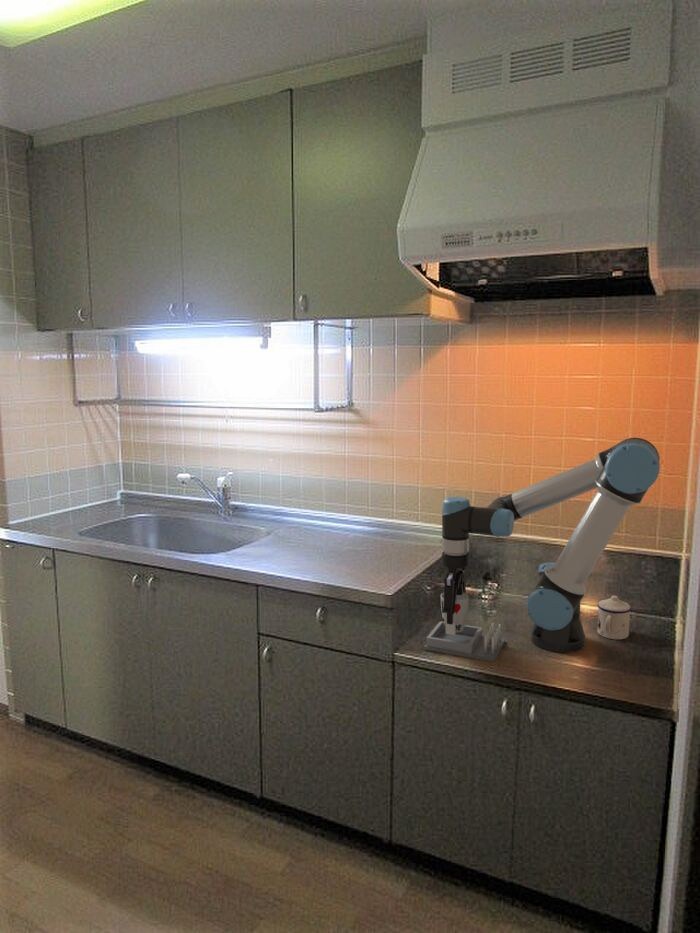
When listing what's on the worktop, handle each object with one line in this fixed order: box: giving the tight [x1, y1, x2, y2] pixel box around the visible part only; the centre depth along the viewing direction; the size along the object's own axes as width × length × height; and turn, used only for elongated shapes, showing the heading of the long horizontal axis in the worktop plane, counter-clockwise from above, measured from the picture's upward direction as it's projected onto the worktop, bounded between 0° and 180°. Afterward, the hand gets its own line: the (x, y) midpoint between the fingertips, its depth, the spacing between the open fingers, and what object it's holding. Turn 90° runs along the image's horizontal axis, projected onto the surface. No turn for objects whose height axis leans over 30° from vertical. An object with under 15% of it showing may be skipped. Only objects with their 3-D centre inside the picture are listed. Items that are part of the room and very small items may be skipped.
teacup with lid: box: [597, 595, 632, 640], centre depth 193 cm, size 12×9×12 cm
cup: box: [440, 592, 470, 633], centre depth 189 cm, size 8×8×10 cm
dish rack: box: [423, 620, 506, 662], centre depth 189 cm, size 20×14×6 cm
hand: (454, 628), depth 189 cm, fingers closed on cup, 8 cm apart
